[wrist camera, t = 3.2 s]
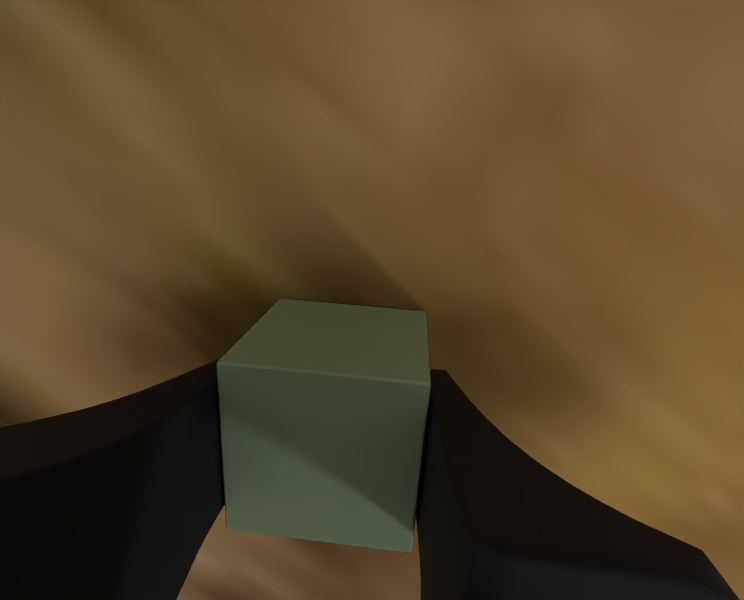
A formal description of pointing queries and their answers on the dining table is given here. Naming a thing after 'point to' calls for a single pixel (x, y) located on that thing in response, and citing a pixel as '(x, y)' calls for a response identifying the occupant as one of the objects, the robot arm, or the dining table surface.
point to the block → (326, 423)
